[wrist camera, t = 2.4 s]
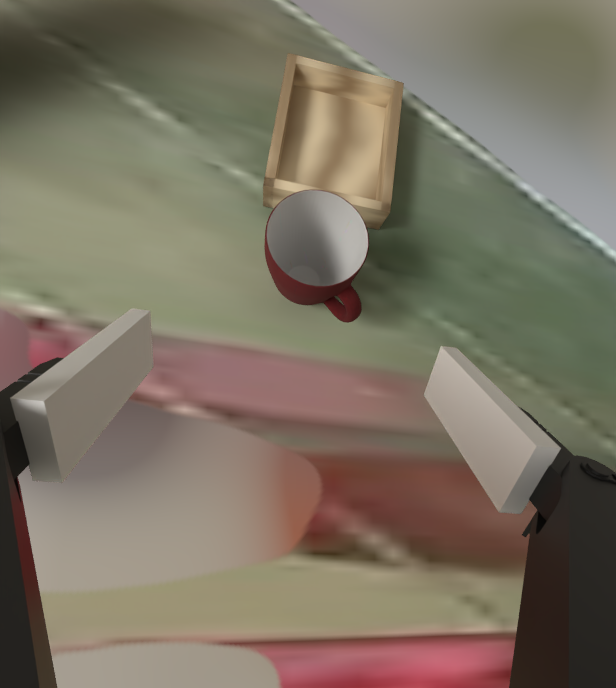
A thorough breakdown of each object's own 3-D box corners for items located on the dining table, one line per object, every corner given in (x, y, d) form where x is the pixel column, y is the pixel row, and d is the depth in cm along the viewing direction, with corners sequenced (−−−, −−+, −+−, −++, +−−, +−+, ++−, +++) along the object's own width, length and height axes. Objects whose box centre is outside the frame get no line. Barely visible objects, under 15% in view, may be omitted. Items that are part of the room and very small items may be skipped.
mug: (371, 298, 35) (413, 259, 26) (322, 352, 34) (347, 332, 24) (300, 232, 36) (314, 169, 26) (247, 282, 34) (241, 235, 24)
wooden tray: (263, 206, 35) (263, 185, 32) (285, 83, 38) (288, 53, 35) (378, 229, 37) (390, 212, 33) (391, 110, 40) (403, 82, 36)
